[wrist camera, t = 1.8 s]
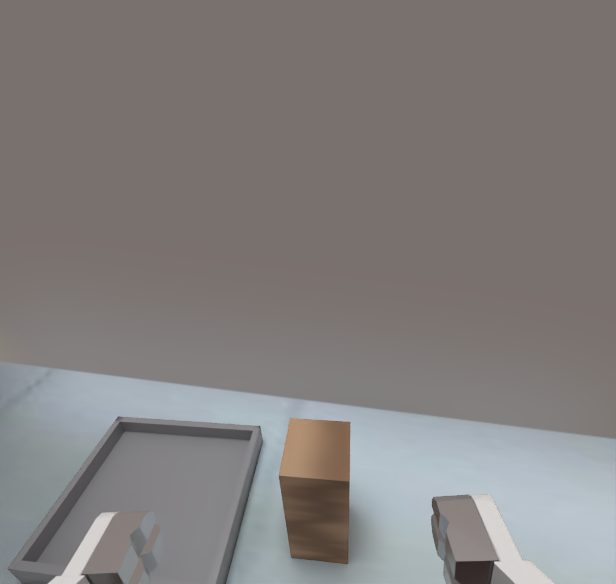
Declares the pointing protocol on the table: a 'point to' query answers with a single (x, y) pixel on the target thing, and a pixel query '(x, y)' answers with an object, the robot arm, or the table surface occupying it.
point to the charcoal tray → (155, 497)
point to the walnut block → (316, 489)
